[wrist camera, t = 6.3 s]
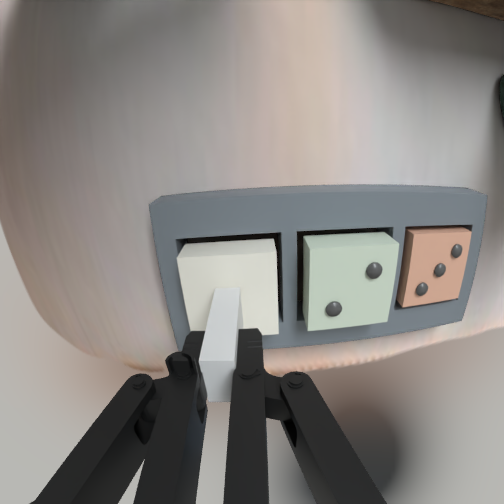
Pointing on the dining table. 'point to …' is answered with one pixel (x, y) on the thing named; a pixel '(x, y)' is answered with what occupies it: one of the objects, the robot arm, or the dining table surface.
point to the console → (308, 219)
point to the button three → (432, 264)
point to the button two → (348, 279)
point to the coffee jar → (502, 94)
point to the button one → (231, 280)
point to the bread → (479, 6)
